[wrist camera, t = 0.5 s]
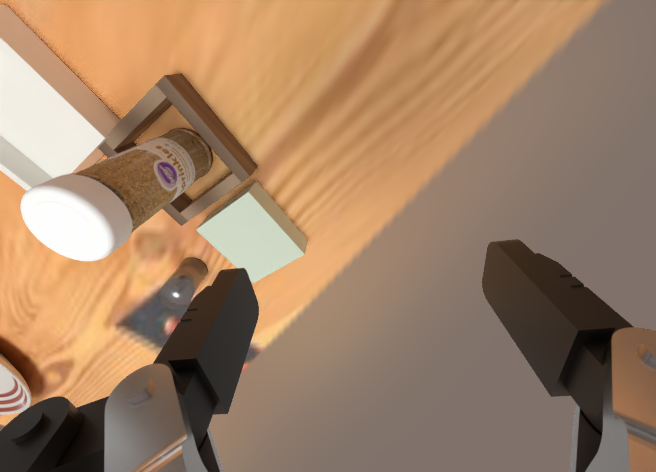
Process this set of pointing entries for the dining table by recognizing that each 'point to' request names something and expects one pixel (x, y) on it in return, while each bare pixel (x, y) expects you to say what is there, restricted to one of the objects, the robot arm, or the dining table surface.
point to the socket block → (202, 121)
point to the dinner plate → (12, 389)
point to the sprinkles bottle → (114, 195)
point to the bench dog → (183, 283)
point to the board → (254, 233)
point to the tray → (44, 110)
